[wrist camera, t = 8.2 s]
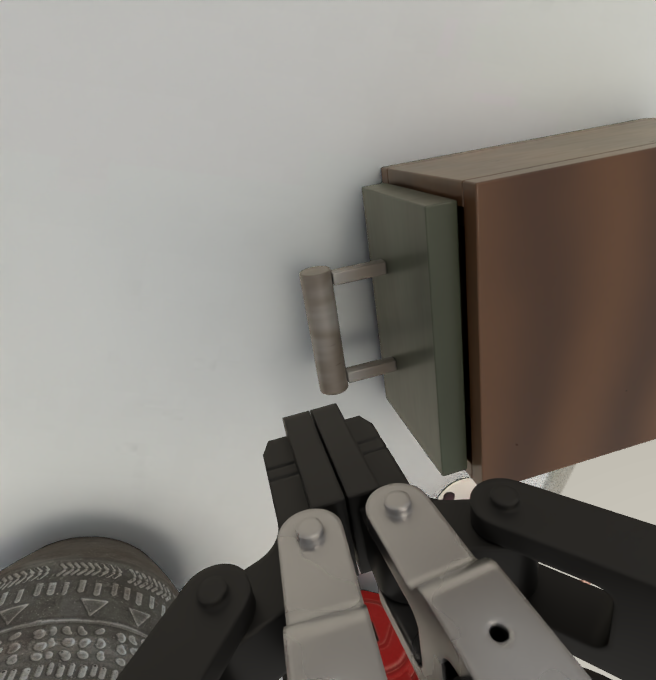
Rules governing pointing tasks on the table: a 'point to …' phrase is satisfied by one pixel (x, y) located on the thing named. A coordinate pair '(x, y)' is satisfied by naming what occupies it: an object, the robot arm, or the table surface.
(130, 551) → the planter
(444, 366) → the drawer
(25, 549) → the table surface
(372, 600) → the headphones
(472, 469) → the cabinet
